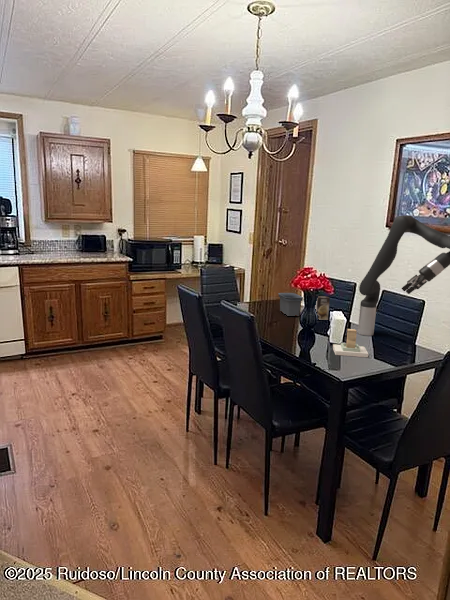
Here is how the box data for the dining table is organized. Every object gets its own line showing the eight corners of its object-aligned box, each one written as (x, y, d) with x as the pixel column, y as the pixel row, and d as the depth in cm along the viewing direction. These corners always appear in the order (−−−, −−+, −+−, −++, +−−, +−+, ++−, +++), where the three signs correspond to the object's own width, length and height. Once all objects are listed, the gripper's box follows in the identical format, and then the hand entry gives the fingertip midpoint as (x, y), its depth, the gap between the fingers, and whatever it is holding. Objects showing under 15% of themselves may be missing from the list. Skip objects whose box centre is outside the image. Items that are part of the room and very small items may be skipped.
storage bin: (275, 311, 310) (276, 292, 307) (295, 311, 313) (296, 292, 310) (285, 318, 289) (286, 297, 287) (306, 318, 293) (307, 297, 290)
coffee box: (316, 321, 285) (318, 297, 282) (311, 318, 291) (313, 295, 288) (328, 320, 287) (330, 297, 284) (323, 318, 293) (325, 295, 290)
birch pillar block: (345, 347, 220) (347, 328, 218) (353, 348, 220) (355, 329, 218) (346, 349, 216) (348, 330, 215) (354, 350, 216) (356, 331, 214)
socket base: (332, 347, 225) (333, 341, 225) (363, 350, 223) (364, 343, 223) (335, 354, 214) (335, 348, 213) (367, 357, 212) (368, 350, 211)
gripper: (422, 263, 219) (396, 283, 222) (431, 266, 205) (403, 288, 208) (431, 274, 219) (405, 294, 223) (441, 277, 205) (413, 299, 209)
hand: (404, 291), depth 216 cm, fingers open, 8 cm apart
